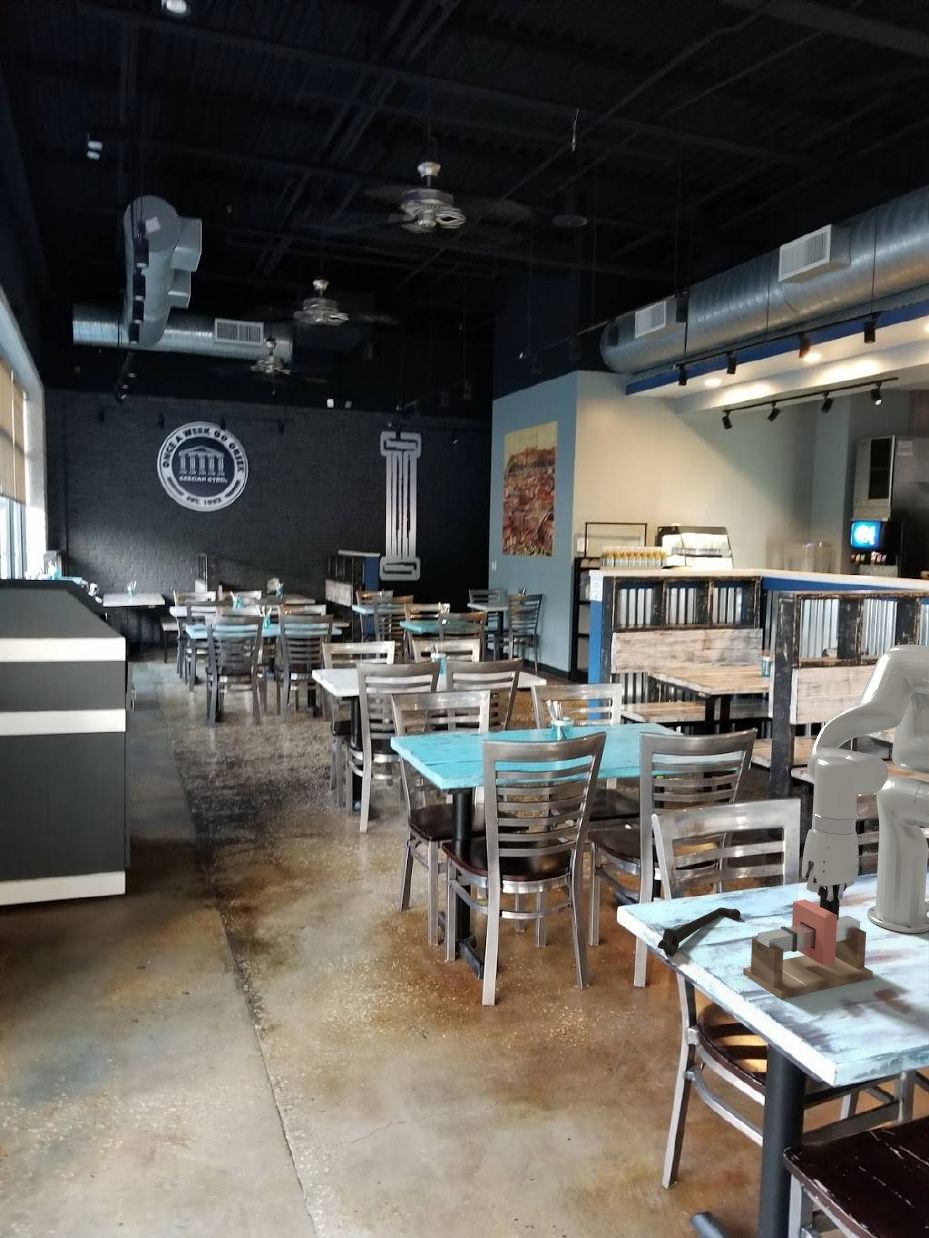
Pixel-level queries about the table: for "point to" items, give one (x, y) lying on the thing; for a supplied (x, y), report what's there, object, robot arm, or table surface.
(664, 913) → the table surface
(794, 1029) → the table surface
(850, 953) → the pipe stand
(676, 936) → the wrench
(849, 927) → the rod
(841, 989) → the table surface
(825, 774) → the robot arm
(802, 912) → the salmon pink rectangular block
